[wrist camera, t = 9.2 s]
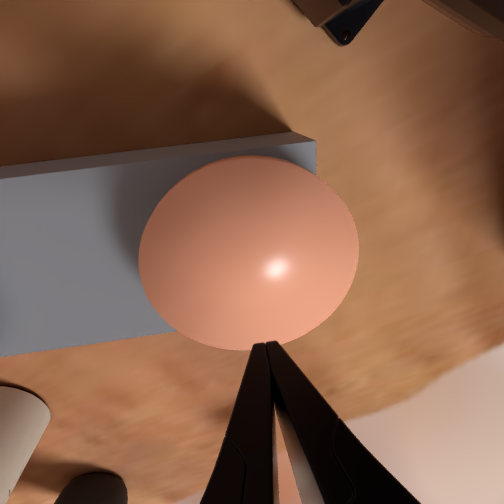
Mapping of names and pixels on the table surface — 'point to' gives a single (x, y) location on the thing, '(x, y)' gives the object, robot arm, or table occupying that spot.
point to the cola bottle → (94, 490)
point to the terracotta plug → (248, 252)
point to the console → (96, 238)
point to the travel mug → (18, 434)
